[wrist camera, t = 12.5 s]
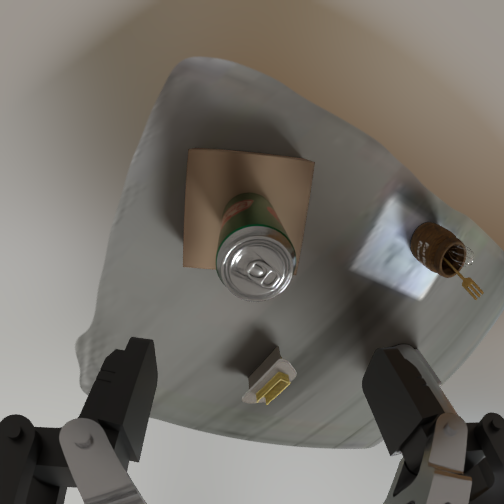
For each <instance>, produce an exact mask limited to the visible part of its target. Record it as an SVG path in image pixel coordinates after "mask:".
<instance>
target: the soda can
mask: <svg viewBox="0 0 504 504" xmlns="http://www.w3.org/2000/svg"><path fill="white" fill-rule="evenodd" d="M295 268H296V253H295V249H294V247H293V244H292V242H291V240H290V239H289V237H288V235H287V233H286V231H285V229H284V227H283V225H282V223H281V221H280V219H279V218H278V216H277V214H276V212H275V210H274V208H273V206H272V205H271V203H270V202H269V201H268V200H267V199H266V198H265V197H263V196H262V195H259V194H257V193H250V192H248V193H242V194H239V195H237V196H235V197H233V198H232V199H231V200H230V201H229V202H228V203H227V204H226V206H225V208H224V211H223V215H222V221H221V227H220V233H219V240H218V246H217V253H216V270H217V273H218V276H219V278H220V280H221V281H222V283H223V284H224V285H225V286H226V287H227V288H228V290H229V291H230V292H231V293H232V294H234V295H235V296H237V297H238V298H241V299H243V300H246V301H252V302H260V301H266V300H269V299H272V298H274V297H276V296H277V295H279V294H280V293H281V292H283V291H284V290H285V288H286V287H287V286H288V284H289V283H290V281H291V278H292V276H293V274H294V271H295Z"/></svg>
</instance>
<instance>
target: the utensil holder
mask: <svg viewBox="0 0 504 504" xmlns="http://www.w3.org/2000/svg"><path fill="white" fill-rule="evenodd" d="M466 247H467V246H466ZM466 247H465V245H464V244H463V243H462V242H461V241H460V240H459V239H458V238H456V236H455V235H454V234H453V233H452V232H450V231H449V230H447V229H445V228H443V227H442V226H440V225H438V224H436V223H432V222H426V223H423V224H422V225H420V226H419V227H418V228H417V229H416V230H415V232H414V234H413V236H412V239H411V251H412V254H413V255H414V257H415V258H416V259H417V260H418V261H419V262H421V263H422V264H423V265H424V266H426V267H427V268H428V269H430V270H431V271H433V272H435V273H438V274H439V275H441V276H443V277H446V278H450V277H453V276H455V275H456V274H457V275H458V276H459V277H460V278H461V279H462V280H463V283H462V286H463V287H464V288H465V289H466V290H467V291H468V292H469V294H470V295H471V296H472V297H473V298H474V299H475V300H477V298H476V296H475V295H474V294H473V293H472V292H471V291H470V290H469V288H468V287H470V288H471V289H472V290H473V291H474V292H475V294H476V295H477V296H478V297H480V294H479V293H478V292H477V291H476V290H475V289H474V288H473V286H472V285H471V284H473V285H474V286H475V287H476V288H477V289H478V290H479V292H480V293H481V294H484V292H483V291H482V290H481V289H480V288H479V287H478V286H477V284H476V283H475V282H474V281H473V280H472V279H471V278H464V277H463V276H462V275H461V274H460V273H459V271H460V270H461V268H462V267H466V266H463V265H464V263H465V264H466V262H465V260H466V257H467V256H466V252H467V251H466ZM468 248H469V247H468ZM469 249H470V248H469ZM467 250H468V249H467ZM470 250H471V249H470ZM470 250H469V251H470ZM471 252H472V251H471ZM467 253H468V252H467ZM468 254H469V253H468ZM469 256H470V255H469ZM473 257H474V256H473ZM470 258H471V257H470ZM468 259H469V258H468ZM472 259H473V258H471V261H472ZM473 260H474V259H473ZM471 261H470V262H471ZM468 262H469V261H468ZM469 264H470V263H469ZM471 265H472V264H471ZM467 266H468V264H467Z"/></svg>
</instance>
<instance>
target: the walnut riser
mask: <svg viewBox="0 0 504 504" xmlns="http://www.w3.org/2000/svg"><path fill="white" fill-rule="evenodd" d="M314 164H315V162H312V161H309V160H306V159H303V158H296V157H288V156H281V155H273V154H264V153H255V152H245V151H234V150H222V149H207V148H192V149H188V161H187V176H186V192H185V213H184V242H183V267H191V268H203V269H216V253H217V246H218V240H219V233H220V227H221V221H222V215H223V211H224V208H225V206H226V204H227V203H228V202H229V201H230V200H231V199H232V198H233V197H235V196H237V195H239V194H242V193H248V192H250V193H257V194H259V195H262V196H263V197H265V198H266V199H267V200H268V201H269V202H270V203H271V205H272V206H273V208H274V210H275V212H276V214H277V216H278V218H279V219H280V221H281V223H282V225H283V227H284V229H285V231H286V233H287V235H288V237H289V239H290V240H291V242H292V244H293V247H294V249H295V253H296V268H295V271H294V274H293V275H296V274H297V268H298V263H299V257H300V252H301V246H302V241H303V235H304V229H305V223H306V217H307V211H308V204H309V198H310V192H311V185H312V178H313V171H314Z"/></svg>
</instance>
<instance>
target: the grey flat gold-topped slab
mask: <svg viewBox="0 0 504 504" xmlns="http://www.w3.org/2000/svg"><path fill="white" fill-rule="evenodd" d="M295 377H296V370H295V369H294V368H293V367H292V365H291V364H290V363H289V362H288V361H286V360H284V359H282V357H281V356H280V351H279V346H277V347H276V348H275V350H274V351H273V352H272V353H271V354H270V355H269V356H268V357H267V358H266V359H265V360H264V362H263V363H262V364H261V365H260V366H259V367H258V368H257V369H256V370H255V371H254V372H253V373H252V374H251V375H250V376H249V378H248V379H249V390H248V391H247V392H246V393H245V394H244V395H243V396H242V401H243V402H246V403H249V404H251V403H260V402H266V405H268V404H269V403H270V402H271V401H272V400H273V399H274V398H275V397H276V396H277V395H279V394H280V393H281V392H282V391H283V390H284V389H285V388H286V387H287V386H288V385H289V384H290V382H291V381H292V380H293V379H294V378H295ZM282 389H283V390H282Z"/></svg>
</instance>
